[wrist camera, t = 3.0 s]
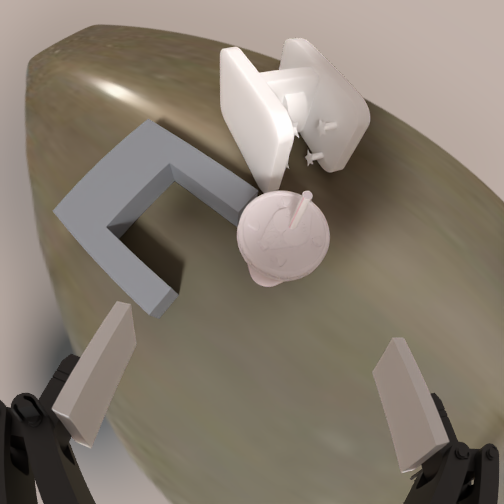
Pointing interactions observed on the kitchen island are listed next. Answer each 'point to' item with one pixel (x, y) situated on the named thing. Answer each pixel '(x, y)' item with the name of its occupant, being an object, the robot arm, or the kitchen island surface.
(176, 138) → the notched board
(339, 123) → the cable organizer
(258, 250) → the smoothie
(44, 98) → the kitchen island surface
